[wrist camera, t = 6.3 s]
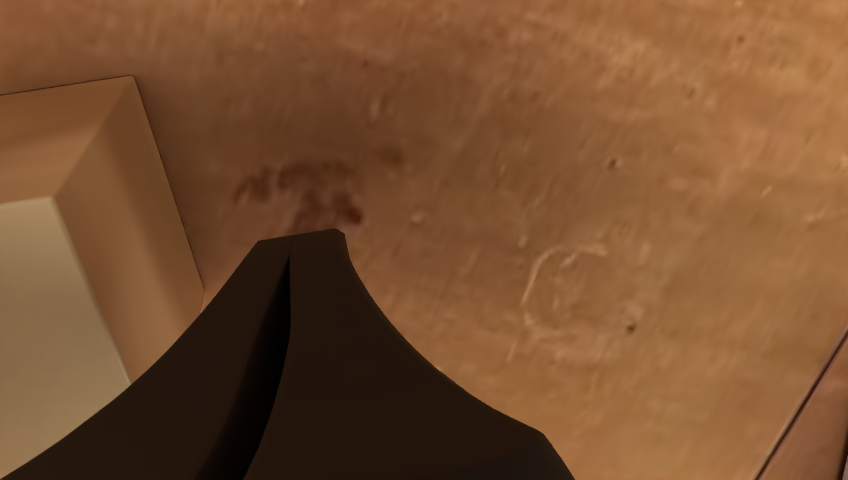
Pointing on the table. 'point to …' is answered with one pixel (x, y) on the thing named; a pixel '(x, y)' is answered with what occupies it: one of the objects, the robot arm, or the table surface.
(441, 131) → the table surface
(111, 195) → the maple block
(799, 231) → the table surface
